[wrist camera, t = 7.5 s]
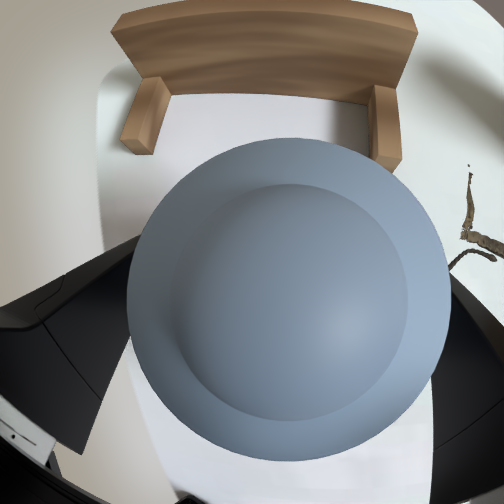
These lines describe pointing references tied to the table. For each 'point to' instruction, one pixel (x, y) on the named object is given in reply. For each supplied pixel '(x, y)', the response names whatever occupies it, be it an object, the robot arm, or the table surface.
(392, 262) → the pepper mill
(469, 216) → the hacksaw
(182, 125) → the table surface
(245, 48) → the walnut bench
